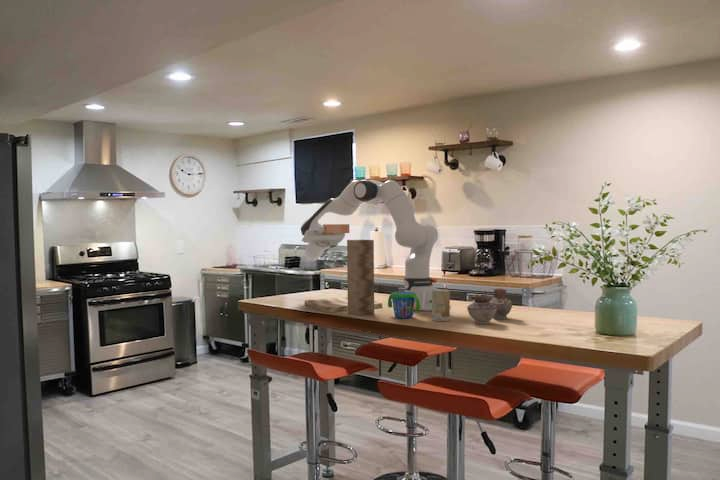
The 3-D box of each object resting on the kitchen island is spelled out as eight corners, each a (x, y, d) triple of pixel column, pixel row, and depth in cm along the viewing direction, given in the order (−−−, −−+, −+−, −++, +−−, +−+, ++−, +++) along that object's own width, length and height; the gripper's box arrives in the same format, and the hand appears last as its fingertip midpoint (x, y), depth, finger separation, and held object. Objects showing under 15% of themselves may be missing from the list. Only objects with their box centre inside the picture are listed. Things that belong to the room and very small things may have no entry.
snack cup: (381, 316, 235) (381, 292, 234) (399, 313, 241) (399, 290, 241) (407, 321, 223) (407, 295, 222) (426, 318, 229) (425, 293, 229)
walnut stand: (363, 310, 250) (363, 239, 249) (374, 314, 241) (373, 240, 240) (347, 312, 246) (347, 239, 245) (357, 315, 237) (356, 240, 236)
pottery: (518, 318, 227) (518, 289, 227) (488, 327, 209) (487, 295, 208) (493, 315, 235) (493, 287, 235) (461, 323, 216) (461, 293, 216)
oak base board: (356, 300, 284) (356, 296, 284) (382, 307, 259) (382, 303, 259) (304, 304, 272) (304, 300, 272) (326, 312, 247) (326, 307, 247)
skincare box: (435, 321, 220) (435, 291, 220) (431, 320, 225) (431, 289, 224) (450, 320, 222) (450, 290, 222) (445, 319, 226) (445, 289, 226)
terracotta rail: (330, 232, 272) (330, 224, 272) (349, 233, 252) (349, 224, 252) (322, 232, 270) (322, 224, 270) (341, 233, 250) (341, 224, 250)
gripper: (299, 236, 275) (308, 222, 264) (337, 235, 284) (347, 221, 273) (301, 247, 273) (310, 233, 262) (340, 246, 282) (350, 233, 271)
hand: (329, 227), depth 268 cm, fingers closed on terracotta rail, 4 cm apart
